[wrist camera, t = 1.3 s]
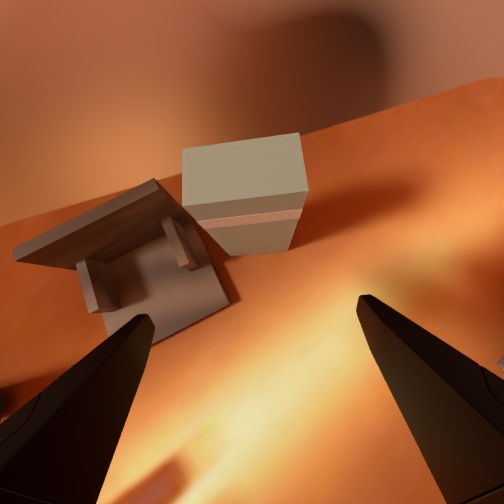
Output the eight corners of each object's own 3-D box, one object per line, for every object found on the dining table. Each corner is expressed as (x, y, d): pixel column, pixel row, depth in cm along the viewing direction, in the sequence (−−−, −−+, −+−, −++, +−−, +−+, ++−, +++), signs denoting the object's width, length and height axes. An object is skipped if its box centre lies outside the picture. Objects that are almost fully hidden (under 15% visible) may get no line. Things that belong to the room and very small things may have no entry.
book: (287, 251, 23) (309, 191, 10) (230, 257, 23) (182, 206, 10) (284, 221, 23) (299, 132, 11) (228, 228, 24) (181, 148, 11)
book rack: (231, 303, 22) (209, 306, 14) (122, 360, 22) (39, 394, 14) (188, 210, 25) (150, 170, 17) (93, 258, 25) (10, 240, 17)
